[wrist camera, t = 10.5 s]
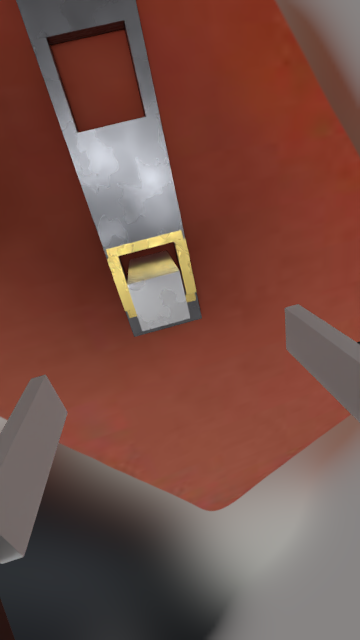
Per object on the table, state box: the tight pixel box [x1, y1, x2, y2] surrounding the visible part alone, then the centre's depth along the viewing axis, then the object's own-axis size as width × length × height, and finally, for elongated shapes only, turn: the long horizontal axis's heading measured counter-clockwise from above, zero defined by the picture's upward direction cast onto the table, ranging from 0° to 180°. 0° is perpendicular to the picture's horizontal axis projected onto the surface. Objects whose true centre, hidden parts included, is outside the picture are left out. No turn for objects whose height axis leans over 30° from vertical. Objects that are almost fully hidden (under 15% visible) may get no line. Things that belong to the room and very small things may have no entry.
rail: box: [16, 0, 202, 337], centre depth 27 cm, size 32×9×1 cm, turn 13°
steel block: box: [127, 250, 190, 331], centre depth 27 cm, size 4×4×10 cm
